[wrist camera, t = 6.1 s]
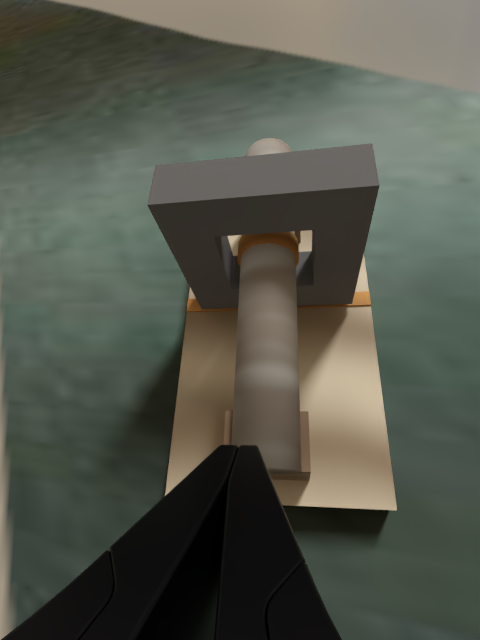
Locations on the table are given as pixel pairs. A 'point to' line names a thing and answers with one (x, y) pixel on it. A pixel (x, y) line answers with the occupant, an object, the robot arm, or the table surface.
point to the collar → (269, 217)
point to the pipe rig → (285, 381)
